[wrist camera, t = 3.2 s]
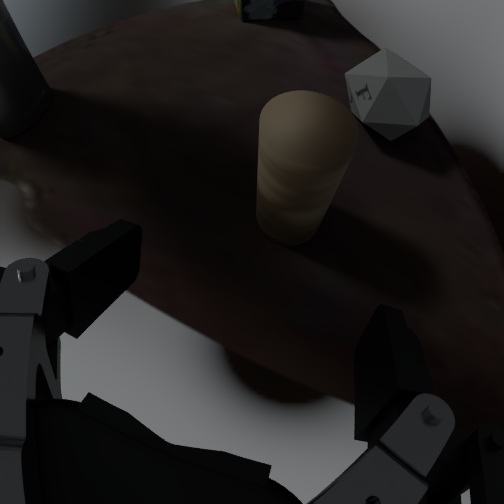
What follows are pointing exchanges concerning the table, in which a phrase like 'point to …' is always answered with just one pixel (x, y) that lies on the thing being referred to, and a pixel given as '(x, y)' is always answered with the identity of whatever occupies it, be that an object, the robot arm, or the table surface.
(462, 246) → the table surface
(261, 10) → the chalk box
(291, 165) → the oak cylinder
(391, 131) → the die
